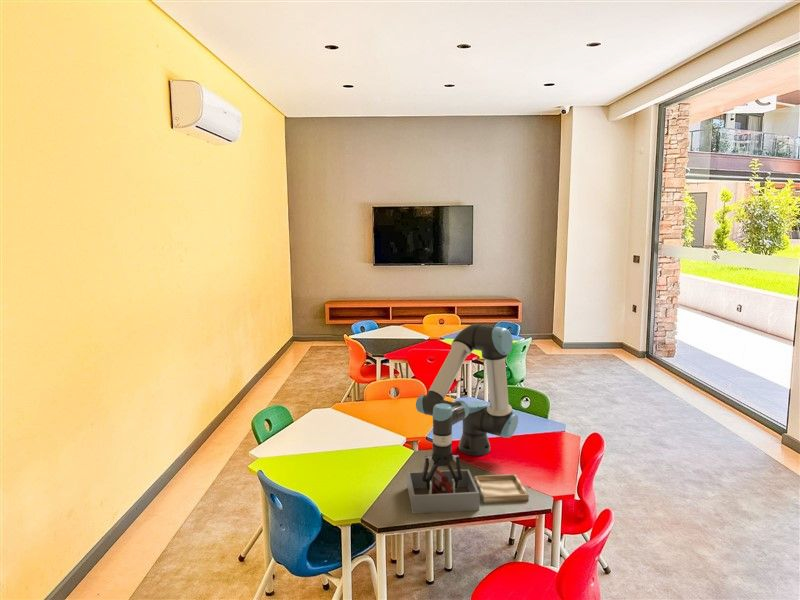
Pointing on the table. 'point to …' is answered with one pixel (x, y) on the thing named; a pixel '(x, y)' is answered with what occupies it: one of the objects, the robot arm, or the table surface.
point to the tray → (500, 488)
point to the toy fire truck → (440, 483)
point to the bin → (445, 500)
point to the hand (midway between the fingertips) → (441, 496)
